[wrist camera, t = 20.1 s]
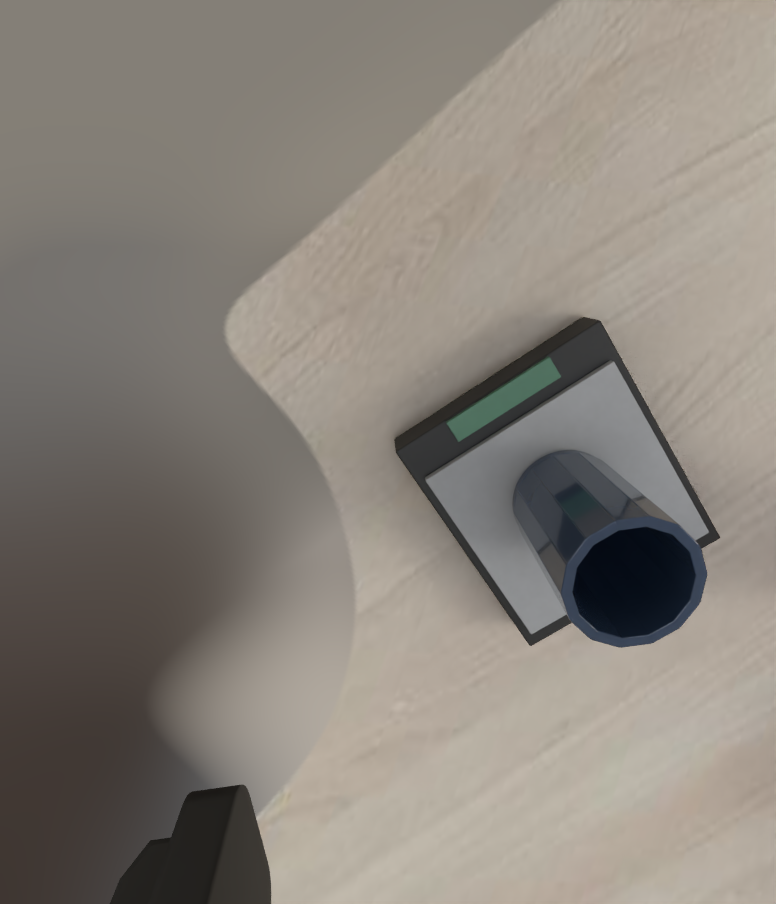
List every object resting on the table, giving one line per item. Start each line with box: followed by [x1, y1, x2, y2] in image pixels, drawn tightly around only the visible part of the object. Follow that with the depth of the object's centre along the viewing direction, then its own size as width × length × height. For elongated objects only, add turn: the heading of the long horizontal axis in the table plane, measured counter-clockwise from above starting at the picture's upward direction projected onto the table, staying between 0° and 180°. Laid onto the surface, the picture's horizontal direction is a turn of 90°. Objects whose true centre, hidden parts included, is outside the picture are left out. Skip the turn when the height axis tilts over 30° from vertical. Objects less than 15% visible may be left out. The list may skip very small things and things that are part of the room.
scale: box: [395, 317, 720, 646], centre depth 34 cm, size 14×12×3 cm
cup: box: [512, 450, 707, 648], centre depth 28 cm, size 6×6×9 cm
